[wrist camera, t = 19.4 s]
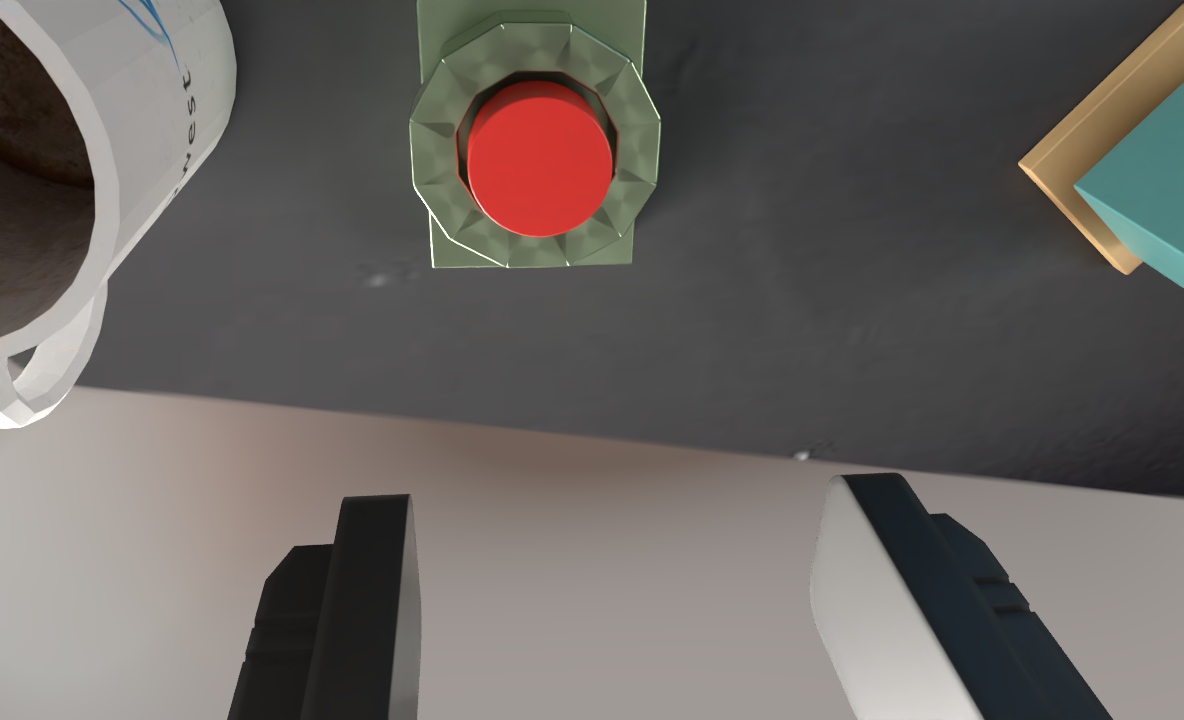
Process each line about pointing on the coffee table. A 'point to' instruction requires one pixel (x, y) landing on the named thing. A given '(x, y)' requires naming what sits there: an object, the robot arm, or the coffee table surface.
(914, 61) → the coffee table surface
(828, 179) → the coffee table surface
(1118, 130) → the stand
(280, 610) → the robot arm
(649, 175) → the alarm box
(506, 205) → the alarm button
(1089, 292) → the coffee table surface
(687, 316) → the coffee table surface
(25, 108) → the mug
